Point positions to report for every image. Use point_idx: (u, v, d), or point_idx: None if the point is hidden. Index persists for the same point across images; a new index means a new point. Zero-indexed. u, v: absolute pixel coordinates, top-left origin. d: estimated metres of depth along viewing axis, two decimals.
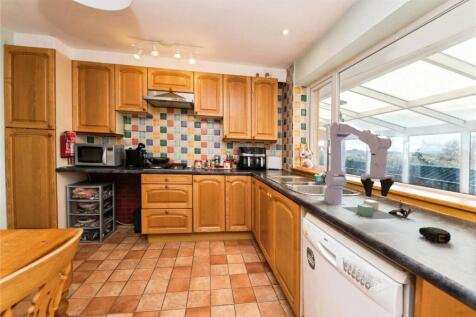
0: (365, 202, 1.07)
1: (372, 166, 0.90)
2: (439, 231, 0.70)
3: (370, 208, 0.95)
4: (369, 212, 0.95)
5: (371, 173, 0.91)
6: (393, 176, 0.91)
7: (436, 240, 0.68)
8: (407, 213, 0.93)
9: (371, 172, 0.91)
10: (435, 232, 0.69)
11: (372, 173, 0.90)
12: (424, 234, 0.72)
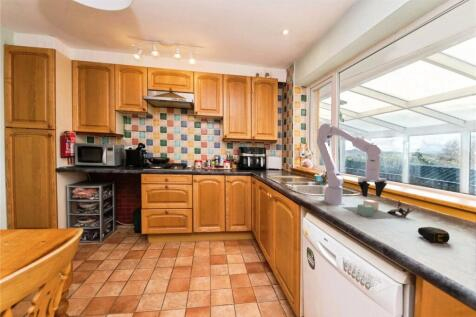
0: (365, 202, 1.07)
1: (368, 170, 1.05)
2: (438, 231, 0.70)
3: (370, 208, 0.95)
4: (369, 212, 0.95)
5: (367, 176, 1.06)
6: (386, 179, 1.06)
7: (435, 240, 0.68)
8: (406, 213, 0.94)
9: (367, 175, 1.06)
10: (434, 232, 0.69)
11: (368, 176, 1.05)
12: (423, 234, 0.72)
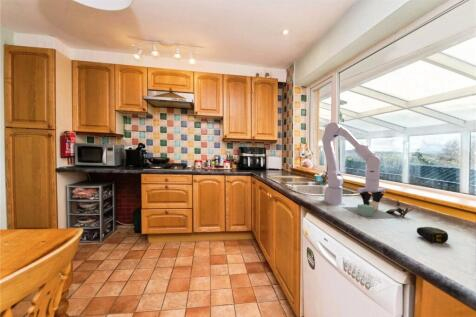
0: None
1: (367, 181, 1.05)
2: (437, 231, 0.70)
3: (370, 208, 0.95)
4: (369, 212, 0.95)
5: (366, 187, 1.06)
6: (385, 189, 1.06)
7: (433, 240, 0.68)
8: (404, 212, 0.95)
9: (366, 186, 1.06)
10: (432, 232, 0.69)
11: (367, 187, 1.05)
12: (422, 234, 0.72)
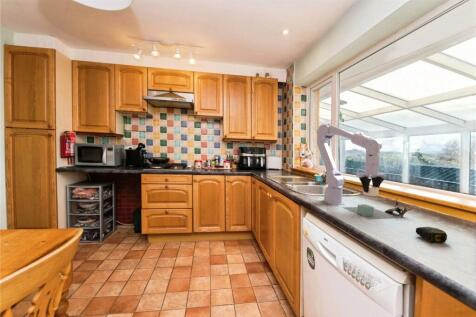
0: None
1: (367, 165, 1.03)
2: (436, 231, 0.70)
3: (370, 208, 0.95)
4: (369, 212, 0.95)
5: (366, 172, 1.03)
6: (385, 174, 1.04)
7: (432, 240, 0.69)
8: (403, 212, 0.95)
9: (366, 171, 1.03)
10: (431, 232, 0.69)
11: (367, 172, 1.03)
12: (421, 234, 0.72)
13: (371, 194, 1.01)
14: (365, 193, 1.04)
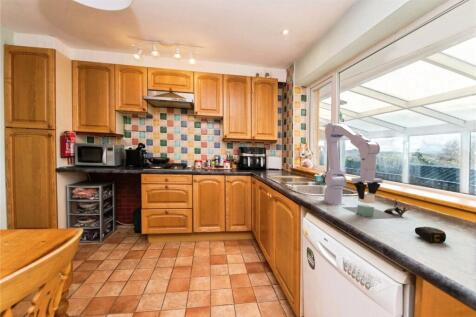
0: None
1: (362, 170, 0.96)
2: (435, 231, 0.70)
3: (370, 208, 0.95)
4: (369, 212, 0.95)
5: (361, 177, 0.96)
6: (382, 180, 0.97)
7: (431, 240, 0.69)
8: (402, 212, 0.96)
9: (361, 176, 0.96)
10: (430, 232, 0.69)
11: (362, 177, 0.95)
12: (420, 234, 0.72)
13: (366, 201, 0.94)
14: (360, 200, 0.97)
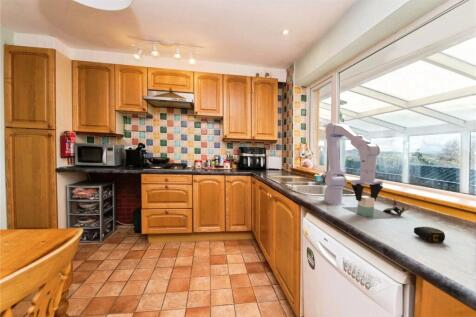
0: None
1: (362, 172, 0.96)
2: (434, 231, 0.70)
3: (370, 208, 0.95)
4: (369, 212, 0.95)
5: (361, 179, 0.96)
6: (382, 181, 0.97)
7: (430, 240, 0.69)
8: (401, 211, 0.96)
9: (361, 178, 0.96)
10: (429, 232, 0.69)
11: (362, 179, 0.96)
12: (419, 234, 0.72)
13: (366, 205, 0.94)
14: (360, 204, 0.97)
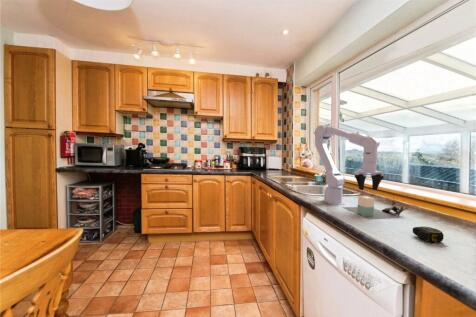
0: (360, 198, 0.97)
1: (364, 163, 1.04)
2: (432, 230, 0.70)
3: (370, 208, 0.95)
4: (369, 212, 0.95)
5: (363, 169, 1.04)
6: (383, 172, 1.05)
7: (429, 239, 0.69)
8: (399, 211, 0.97)
9: (363, 168, 1.04)
10: (428, 231, 0.70)
11: (364, 169, 1.03)
12: (417, 233, 0.72)
13: (366, 205, 0.94)
14: (360, 204, 0.97)
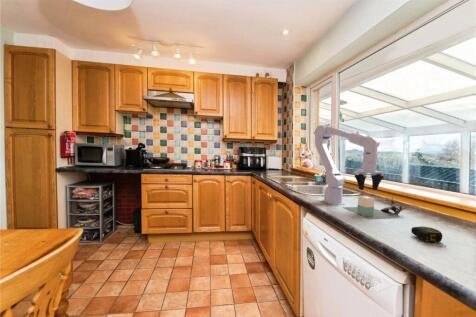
0: (360, 198, 0.97)
1: (364, 163, 1.04)
2: (431, 230, 0.70)
3: (370, 208, 0.95)
4: (369, 212, 0.95)
5: (363, 169, 1.04)
6: (382, 172, 1.05)
7: (428, 239, 0.69)
8: (398, 210, 0.97)
9: (363, 168, 1.04)
10: (427, 231, 0.70)
11: (364, 169, 1.03)
12: (416, 233, 0.73)
13: (366, 205, 0.94)
14: (360, 204, 0.97)
